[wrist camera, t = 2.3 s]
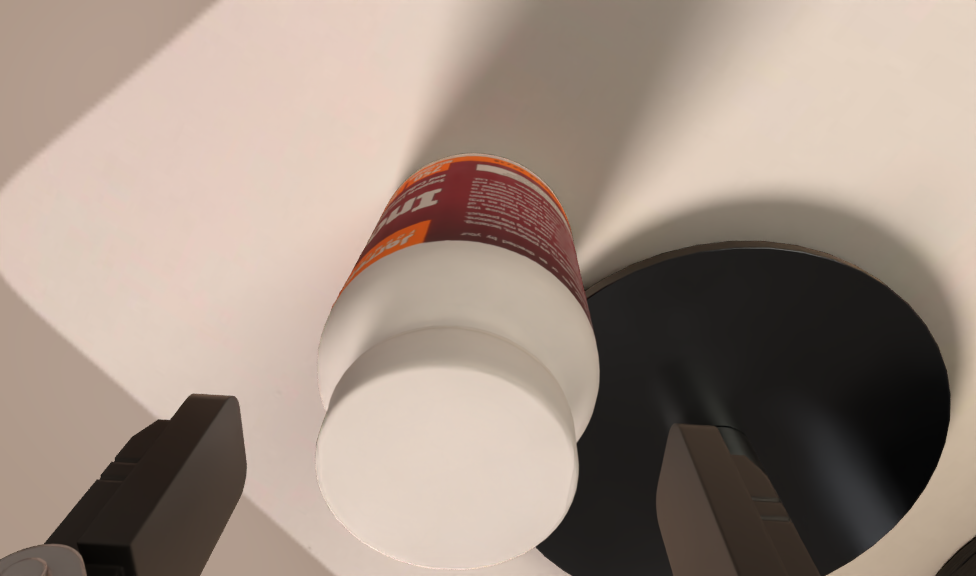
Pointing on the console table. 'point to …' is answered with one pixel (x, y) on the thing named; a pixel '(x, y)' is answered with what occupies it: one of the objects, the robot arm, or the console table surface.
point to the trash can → (962, 562)
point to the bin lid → (755, 398)
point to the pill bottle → (458, 370)
